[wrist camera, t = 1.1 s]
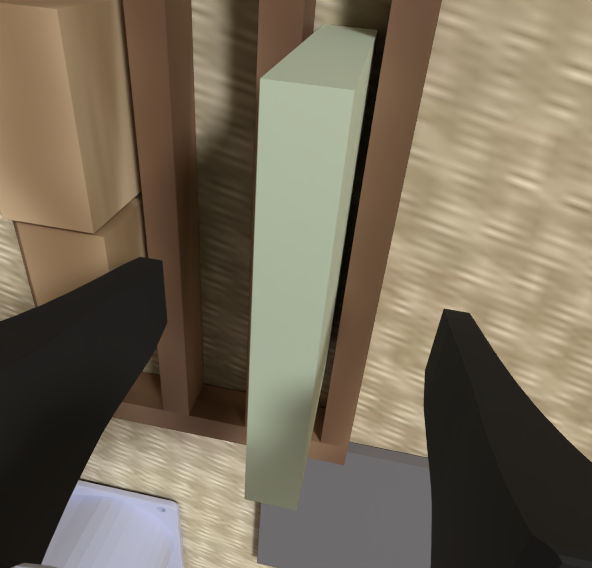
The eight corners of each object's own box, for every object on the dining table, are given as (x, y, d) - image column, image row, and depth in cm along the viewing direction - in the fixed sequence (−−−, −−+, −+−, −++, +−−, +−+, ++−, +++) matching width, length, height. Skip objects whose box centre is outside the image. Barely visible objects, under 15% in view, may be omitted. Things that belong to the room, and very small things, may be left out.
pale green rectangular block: (293, 333, 22) (244, 498, 15) (324, 23, 15) (260, 78, 9) (330, 340, 22) (296, 510, 15) (378, 29, 15) (354, 90, 8)
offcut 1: (80, 167, 19) (2, 218, 16) (50, -15, 16) (-59, -4, 12) (154, 178, 19) (93, 233, 15) (140, -5, 16) (56, 9, 12)
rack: (83, 377, 26) (61, 406, 24) (-50, -242, 13) (-116, -269, 12) (348, 430, 24) (344, 465, 23) (479, -211, 12) (491, -238, 10)
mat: (259, 553, 32) (256, 562, 31) (268, 425, 25) (265, 435, 25) (486, 606, 30) (488, 616, 30) (560, 485, 24) (564, 496, 23)
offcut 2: (103, 302, 23) (51, 360, 20) (82, 177, 20) (16, 222, 16) (166, 313, 23) (124, 375, 19) (155, 188, 19) (103, 236, 16)
